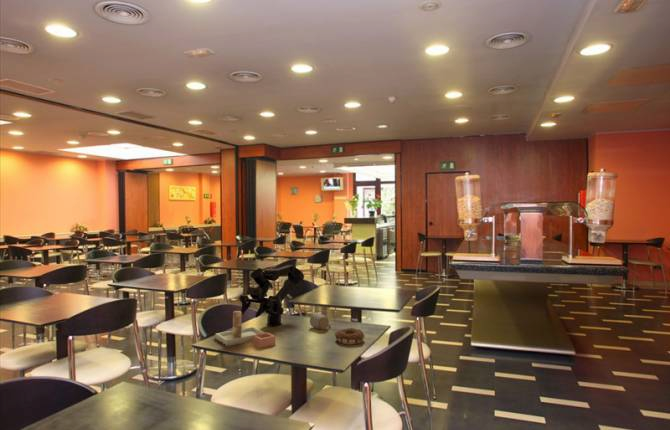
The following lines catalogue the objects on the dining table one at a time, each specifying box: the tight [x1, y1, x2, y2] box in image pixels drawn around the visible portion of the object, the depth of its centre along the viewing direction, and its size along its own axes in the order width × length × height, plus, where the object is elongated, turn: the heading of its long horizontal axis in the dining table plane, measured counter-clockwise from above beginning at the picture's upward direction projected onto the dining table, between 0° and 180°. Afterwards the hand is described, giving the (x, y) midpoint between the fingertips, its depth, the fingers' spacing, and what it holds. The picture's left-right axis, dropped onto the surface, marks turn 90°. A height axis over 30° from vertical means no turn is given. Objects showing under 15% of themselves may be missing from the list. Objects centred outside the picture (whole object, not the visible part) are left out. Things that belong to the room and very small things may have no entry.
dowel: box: [232, 310, 243, 339], centre depth 201 cm, size 4×4×12 cm
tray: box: [215, 326, 266, 347], centre depth 204 cm, size 20×14×2 cm
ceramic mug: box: [309, 312, 332, 331], centre depth 223 cm, size 11×8×8 cm
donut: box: [334, 327, 365, 345], centre depth 201 cm, size 14×14×5 cm
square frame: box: [252, 332, 276, 349], centre depth 195 cm, size 8×8×4 cm
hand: (248, 315), depth 209 cm, fingers open, 9 cm apart
